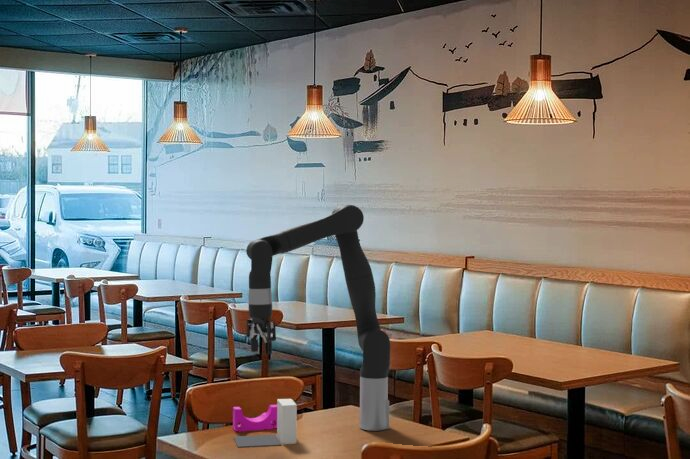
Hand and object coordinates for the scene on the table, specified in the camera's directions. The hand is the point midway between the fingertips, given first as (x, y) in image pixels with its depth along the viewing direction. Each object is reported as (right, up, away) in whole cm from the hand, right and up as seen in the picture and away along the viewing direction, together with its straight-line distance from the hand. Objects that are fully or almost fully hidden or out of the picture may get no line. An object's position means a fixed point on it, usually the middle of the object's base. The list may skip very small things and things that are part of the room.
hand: (261, 352), depth 289 cm
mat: (-1, -27, -7) cm, 28 cm away
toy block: (-3, -27, +11) cm, 29 cm away
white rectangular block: (+8, -27, -5) cm, 28 cm away
